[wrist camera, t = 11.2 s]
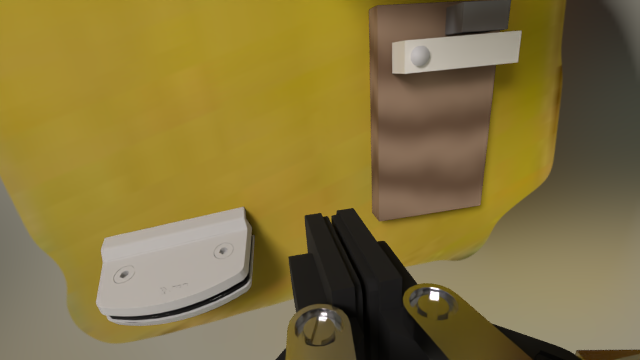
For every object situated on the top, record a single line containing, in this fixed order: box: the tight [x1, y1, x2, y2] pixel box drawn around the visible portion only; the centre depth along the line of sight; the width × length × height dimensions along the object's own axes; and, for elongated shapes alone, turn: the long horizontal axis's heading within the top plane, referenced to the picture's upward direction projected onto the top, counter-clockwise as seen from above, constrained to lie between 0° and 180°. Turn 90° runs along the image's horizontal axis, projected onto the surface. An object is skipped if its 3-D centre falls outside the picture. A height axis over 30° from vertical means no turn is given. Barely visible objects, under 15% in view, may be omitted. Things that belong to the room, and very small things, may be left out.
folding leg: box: [392, 31, 522, 74], centre depth 33 cm, size 12×3×3 cm, turn 95°
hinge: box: [96, 207, 254, 326], centre depth 35 cm, size 17×5×10 cm, turn 99°
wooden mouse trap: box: [369, 0, 511, 221], centre depth 37 cm, size 24×14×6 cm, turn 4°
